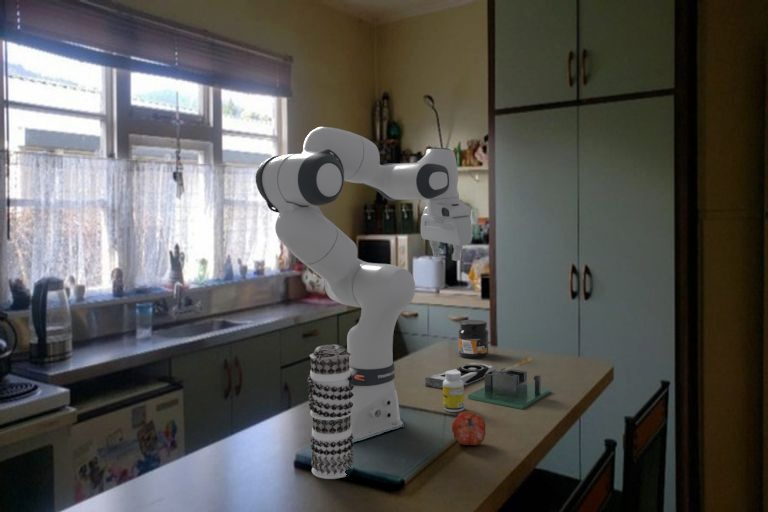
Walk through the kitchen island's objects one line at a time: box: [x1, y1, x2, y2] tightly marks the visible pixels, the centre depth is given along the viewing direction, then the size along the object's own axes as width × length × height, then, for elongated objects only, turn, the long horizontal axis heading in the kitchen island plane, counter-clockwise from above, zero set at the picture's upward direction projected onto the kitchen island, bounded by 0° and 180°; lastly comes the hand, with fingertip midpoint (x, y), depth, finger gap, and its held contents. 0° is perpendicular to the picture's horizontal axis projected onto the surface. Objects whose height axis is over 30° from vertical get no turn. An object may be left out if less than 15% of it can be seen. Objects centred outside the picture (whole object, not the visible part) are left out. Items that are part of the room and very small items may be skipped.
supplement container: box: [457, 319, 490, 359], centre depth 218 cm, size 10×10×12 cm
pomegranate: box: [451, 410, 486, 446], centre depth 137 cm, size 7×7×10 cm
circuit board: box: [467, 367, 552, 410], centre depth 171 cm, size 18×16×6 cm
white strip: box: [492, 357, 532, 375], centre depth 171 cm, size 3×14×1 cm, turn 52°
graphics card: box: [424, 362, 497, 390], centre depth 188 cm, size 10×3×25 cm
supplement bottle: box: [442, 369, 465, 413], centre depth 160 cm, size 5×5×10 cm
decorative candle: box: [306, 344, 355, 480], centre depth 124 cm, size 9×9×25 cm
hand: (446, 258), depth 171 cm, fingers open, 8 cm apart
